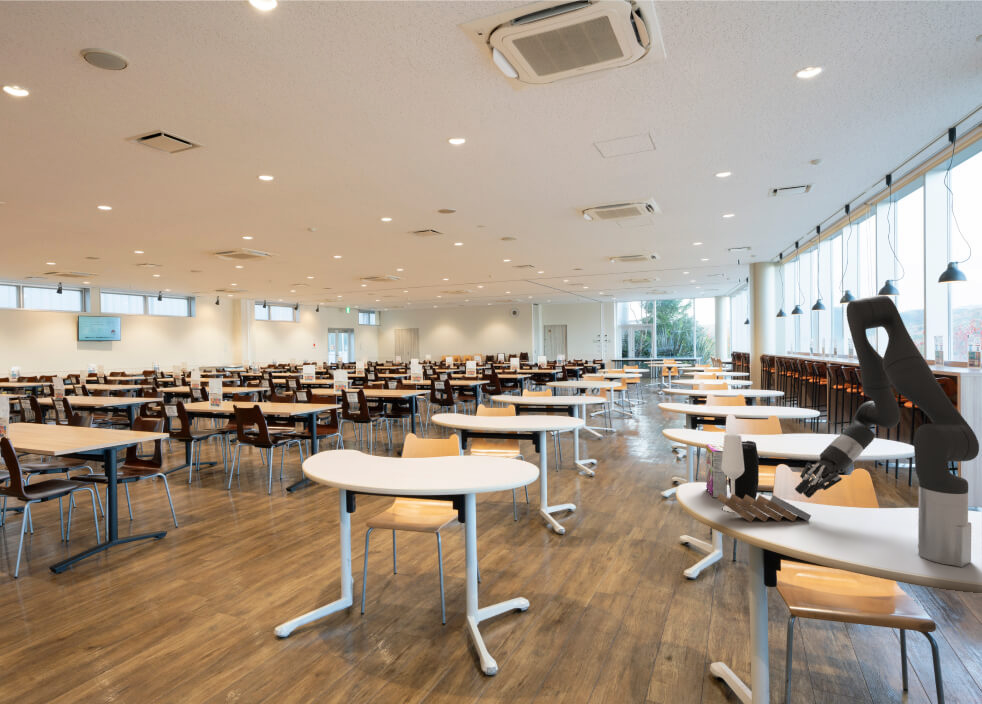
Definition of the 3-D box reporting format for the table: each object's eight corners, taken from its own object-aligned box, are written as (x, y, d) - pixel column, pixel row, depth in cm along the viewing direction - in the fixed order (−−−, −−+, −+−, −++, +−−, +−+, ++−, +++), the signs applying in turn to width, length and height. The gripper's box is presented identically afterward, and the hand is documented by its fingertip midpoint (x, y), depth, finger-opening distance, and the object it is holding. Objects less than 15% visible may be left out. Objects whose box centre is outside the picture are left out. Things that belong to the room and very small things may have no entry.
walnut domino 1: (746, 511, 160) (719, 493, 160) (754, 516, 155) (727, 497, 155) (742, 516, 160) (716, 498, 160) (750, 522, 155) (723, 503, 155)
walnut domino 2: (759, 511, 160) (732, 493, 160) (768, 516, 155) (741, 498, 155) (756, 516, 160) (729, 499, 160) (765, 522, 155) (737, 504, 155)
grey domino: (800, 510, 161) (772, 495, 160) (811, 515, 156) (782, 499, 155) (797, 515, 161) (769, 500, 160) (808, 521, 156) (779, 505, 155)
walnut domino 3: (773, 510, 160) (745, 494, 160) (782, 516, 155) (754, 499, 155) (769, 516, 160) (742, 499, 160) (779, 521, 155) (750, 505, 155)
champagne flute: (716, 508, 168) (716, 434, 168) (730, 504, 172) (730, 432, 171) (735, 514, 162) (735, 437, 162) (749, 510, 166) (749, 435, 165)
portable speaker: (723, 496, 181) (723, 440, 180) (747, 494, 183) (747, 439, 182) (739, 503, 172) (739, 444, 172) (764, 502, 174) (764, 443, 174)
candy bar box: (705, 489, 190) (705, 444, 190) (719, 489, 189) (720, 444, 189) (711, 498, 179) (711, 450, 179) (727, 498, 178) (727, 451, 178)
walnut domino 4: (787, 510, 160) (759, 494, 160) (797, 515, 155) (768, 499, 155) (783, 516, 160) (756, 500, 160) (793, 521, 155) (765, 505, 155)
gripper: (817, 440, 165) (779, 479, 165) (849, 449, 151) (807, 491, 151) (833, 456, 165) (795, 495, 165) (867, 467, 151) (825, 509, 151)
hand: (801, 493), depth 158 cm, fingers open, 3 cm apart
